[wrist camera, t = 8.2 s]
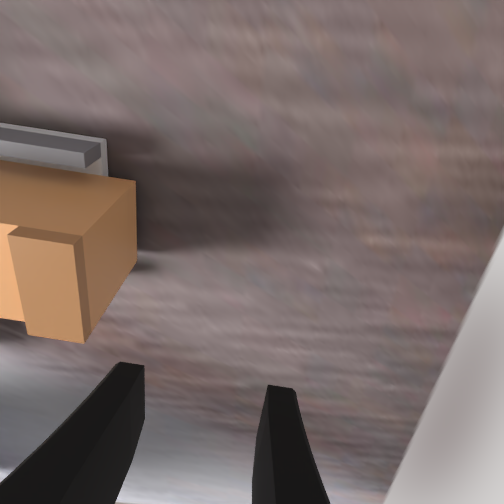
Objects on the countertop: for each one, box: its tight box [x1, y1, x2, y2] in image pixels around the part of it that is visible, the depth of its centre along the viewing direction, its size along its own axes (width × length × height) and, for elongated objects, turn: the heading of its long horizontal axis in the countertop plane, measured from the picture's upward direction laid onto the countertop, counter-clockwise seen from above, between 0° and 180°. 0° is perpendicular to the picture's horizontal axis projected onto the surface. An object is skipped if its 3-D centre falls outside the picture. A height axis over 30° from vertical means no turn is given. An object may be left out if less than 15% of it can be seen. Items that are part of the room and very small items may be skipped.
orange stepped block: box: [0, 160, 137, 344], centre depth 15 cm, size 4×8×6 cm, turn 82°
